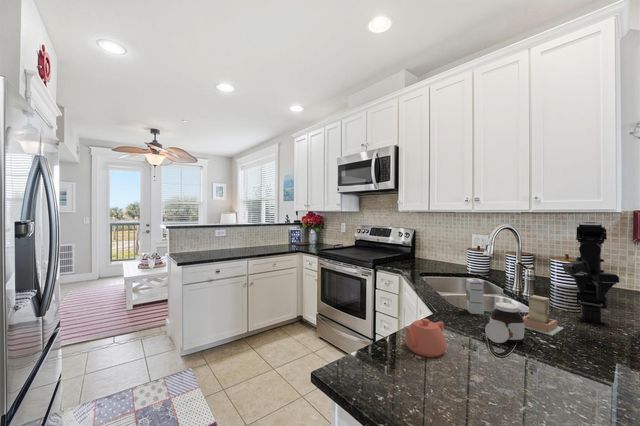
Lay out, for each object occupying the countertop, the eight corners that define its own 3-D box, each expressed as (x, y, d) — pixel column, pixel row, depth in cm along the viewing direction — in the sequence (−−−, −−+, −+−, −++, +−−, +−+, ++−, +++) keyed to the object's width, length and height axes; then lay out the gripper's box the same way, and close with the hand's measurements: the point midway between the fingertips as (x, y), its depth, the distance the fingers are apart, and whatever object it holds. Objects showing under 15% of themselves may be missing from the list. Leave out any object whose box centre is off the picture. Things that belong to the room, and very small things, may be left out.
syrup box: (484, 314, 122) (484, 281, 123) (469, 313, 124) (469, 280, 124) (479, 310, 128) (479, 278, 128) (465, 309, 129) (465, 278, 129)
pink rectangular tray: (527, 319, 118) (527, 312, 118) (563, 328, 108) (563, 321, 108) (514, 324, 111) (514, 317, 111) (552, 335, 101) (552, 327, 101)
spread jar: (521, 336, 100) (521, 304, 100) (529, 350, 90) (529, 314, 90) (482, 330, 105) (482, 299, 105) (486, 342, 95) (486, 308, 95)
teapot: (458, 351, 88) (459, 321, 88) (418, 365, 79) (418, 332, 80) (427, 337, 99) (427, 310, 99) (388, 347, 90) (389, 318, 90)
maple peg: (533, 322, 113) (533, 295, 113) (549, 326, 109) (549, 298, 109) (528, 324, 110) (528, 297, 110) (544, 329, 106) (544, 300, 106)
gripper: (551, 251, 118) (551, 288, 118) (583, 258, 100) (584, 301, 100) (581, 252, 116) (581, 290, 116) (620, 259, 98) (620, 303, 98)
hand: (590, 296), depth 107 cm, fingers open, 9 cm apart
